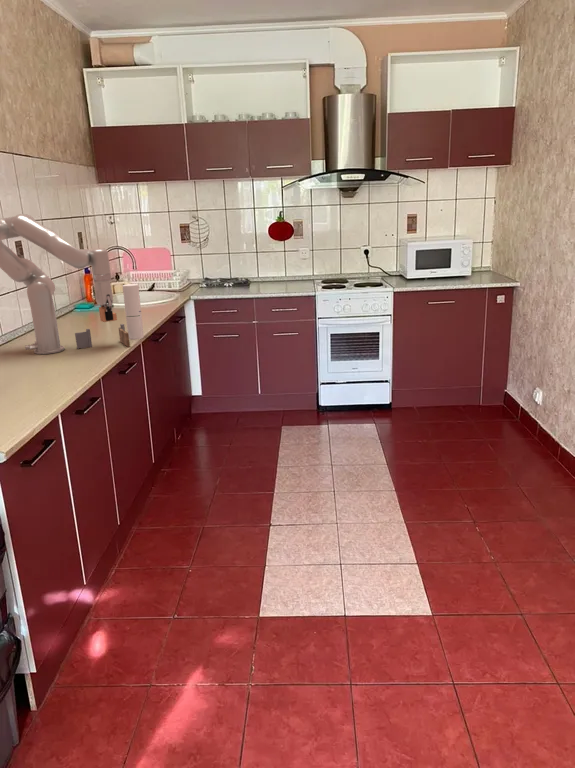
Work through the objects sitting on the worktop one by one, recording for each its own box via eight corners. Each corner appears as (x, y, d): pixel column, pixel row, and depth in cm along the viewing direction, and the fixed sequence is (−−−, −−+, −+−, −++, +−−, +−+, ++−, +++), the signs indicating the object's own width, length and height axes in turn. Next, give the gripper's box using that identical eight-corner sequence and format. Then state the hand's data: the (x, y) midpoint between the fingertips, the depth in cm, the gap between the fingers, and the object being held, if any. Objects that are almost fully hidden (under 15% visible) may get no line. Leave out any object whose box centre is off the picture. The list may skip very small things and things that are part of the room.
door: (119, 341, 272) (118, 327, 271) (122, 340, 273) (120, 327, 271) (127, 346, 261) (126, 332, 259) (129, 346, 261) (128, 332, 259)
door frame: (78, 349, 261) (75, 331, 259) (76, 348, 262) (74, 330, 260) (126, 341, 273) (124, 324, 270) (124, 340, 274) (122, 323, 272)
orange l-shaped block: (103, 322, 258) (101, 308, 256) (100, 320, 261) (98, 307, 259) (117, 320, 261) (115, 306, 259) (113, 318, 264) (112, 305, 262)
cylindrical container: (146, 336, 282) (141, 283, 275) (139, 339, 276) (133, 286, 268) (133, 335, 284) (127, 283, 277) (125, 339, 278) (119, 285, 270)
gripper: (87, 277, 260) (93, 318, 265) (99, 280, 246) (105, 323, 252) (104, 275, 264) (110, 316, 269) (117, 278, 250) (122, 321, 256)
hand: (107, 319), depth 260 cm, fingers closed on orange l-shaped block, 4 cm apart
